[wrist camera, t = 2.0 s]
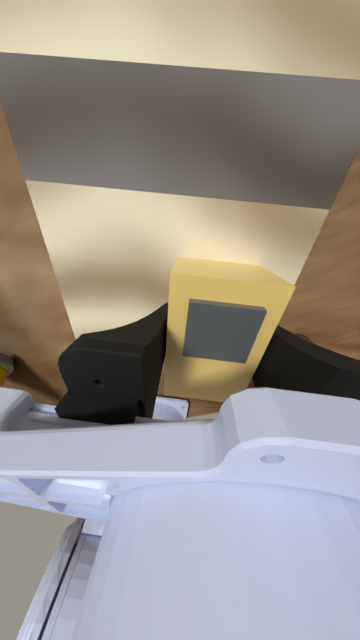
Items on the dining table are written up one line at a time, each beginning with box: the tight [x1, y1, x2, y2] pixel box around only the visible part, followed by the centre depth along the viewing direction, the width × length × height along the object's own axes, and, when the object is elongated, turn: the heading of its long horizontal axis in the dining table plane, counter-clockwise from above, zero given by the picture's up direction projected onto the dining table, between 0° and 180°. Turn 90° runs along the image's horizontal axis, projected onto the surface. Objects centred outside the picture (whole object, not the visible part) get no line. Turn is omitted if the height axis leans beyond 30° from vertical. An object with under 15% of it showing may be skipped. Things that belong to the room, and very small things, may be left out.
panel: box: [0, 0, 360, 361], centre depth 10 cm, size 20×16×1 cm
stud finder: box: [163, 257, 296, 402], centre depth 10 cm, size 8×5×4 cm, turn 175°
